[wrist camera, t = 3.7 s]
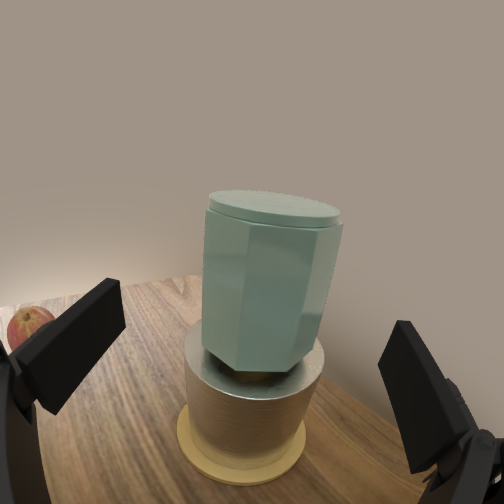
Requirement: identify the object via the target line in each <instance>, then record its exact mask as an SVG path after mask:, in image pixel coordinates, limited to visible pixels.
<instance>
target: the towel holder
mask: <svg viewBox="0 0 504 504" xmlns="http://www.w3.org/2000/svg"><path fill="white" fill-rule="evenodd" d="M201 332H202V319H201V320H199V321H198V322H197V323H196V324H194V325H193V326H192V327H191V329H190V330H189V331H188V333H187V335H186V337H185V340H184V346H183V349H184V366H185V380H186V392H187V403H186V405H185V406H184V407H183V409H182V410H181V412H180V415H179V417H178V421H177V429H176V431H177V438H178V443H179V446H180V449H181V451H182V453H183V455H184V456H185V458H186V459H187V461H188V462H189V463H190V464H191V465H192V466H193V467H194V468H195V469H196V470H198V471H199V472H200V473H202V474H203V475H205V476H207V477H208V478H211V479H213V480H215V481H218V482H221V483H224V484H229V485H236V486H252V485H258V484H263V483H266V482H270V481H272V480H274V479H276V478H279V477H280V476H282V475H283V474H285V473H286V472H287V471H289V470H290V469H291V468H292V467H293V466H294V464H295V463H296V462H297V460H298V459H299V457H300V455H301V454H302V452H303V449H304V446H305V442H306V429H305V425H304V422H303V416H304V414H305V412H306V410H307V407H308V405H309V402H310V400H311V398H312V395H313V393H314V390H315V388H316V385H317V382H318V380H319V377H320V375H321V372H322V369H323V366H324V351H323V348H322V346H321V344H320V342H319V340H318V339H317V337H316V340H315V343H314V346H313V349H312V350H311V351H310V352H309V353H308V354H307V355H306V356H304V357H303V358H302V359H301V360H300V361H299V362H298V363H296V364H295V365H294V366H293V367H292V368H291V369H289V370H288V371H286V372H262V371H236V370H234V369H232V368H231V367H230V366H228V365H227V364H226V363H224V362H223V361H222V360H220V359H219V358H218V357H216V356H215V355H214V354H212V353H211V352H210V351H209V350H207V349H206V348H205V347H203V346H202V344H201Z"/></svg>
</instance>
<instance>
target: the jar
mask: <svg viewBox="0 0 504 504" xmlns="http://www.w3.org/2000/svg"><path fill="white" fill-rule="evenodd" d="M339 217H340V212H339V210H338V209H336V208H334V207H333V206H330V205H328V204H325V203H322V202H319V201H316V200H312V199H308V198H303V197H299V196H293V195H288V194H281V193H273V192H265V191H252V190H227V191H218V192H214V193H212V194H210V196H209V206H208V208H207V210H206V218H205V235H204V236H205V237H204V257H203V281H202V332H201V344H202V346H203V347H205V348H206V349H207V350H209V351H210V352H211V353H212V354H214V355H215V356H216V357H218V358H219V359H220V360H222V361H223V362H224V363H226V364H227V365H228V366H230V367H231V368H232V369H234V370H236V371H262V372H286V371H288V370H289V369H291V368H292V367H293V366H294V365H295V364H296V363H298V362H299V361H300V360H301V359H302V358H303V357H304V356H306V355H307V354H308V353H309V352H310V351H311V350H312V349H313V346H314V343H315V340H316V336H317V333H318V329H319V325H320V322H321V318H322V315H323V311H324V307H325V304H326V300H327V296H328V292H329V288H330V284H331V279H332V275H333V271H334V267H335V262H336V258H337V253H338V248H339V244H340V239H341V234H342V229H343V223H342V222H340V221H339Z"/></svg>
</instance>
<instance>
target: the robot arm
mask: <svg viewBox="0 0 504 504" xmlns="http://www.w3.org/2000/svg"><path fill="white" fill-rule="evenodd" d="M125 328H126V324H125V318H124V312H123V305H122V297H121V289H120V281H119V280H115V279H111V278H106V279H105V280H103V281H102V282H101V283H100V284H98V285H97V286H96V287H95V288H93V289H92V290H91V291H89V292H88V293H87V294H86V295H84V296H83V297H82V298H81V299H79V300H78V301H77V302H76V303H75V304H73V305H72V306H71V307H70V308H69V309H67V310H66V311H65V312H64V313H63V314H61V315H60V316H59V317H58V318H57V319H56V320H52V321H49V322H47V323H45V324H43V325H42V326H41V327H40V328H39V329H37V330H36V332H34V333H33V334H32V335H31V336H30V338H29V337H28V338H27V339H26V340H25V341H24V342H23V343H22V344H21V345H19V346H18V347H17V348H16V349H15V350H14V351H13V352H12V353H11V354H10V355H7V353H6V351H5V348H4V346H3V344H2V342H1V340H0V504H51V500H50V497H49V493H48V489H47V485H46V480H45V476H44V471H43V466H42V460H41V454H40V447H39V439H38V429H37V417H36V407H35V404H34V401H35V400H36V399H38V401H39V403H40V404H41V406H42V407H43V408H44V409H46V410H47V411H49V412H50V413H52V414H53V415H55V416H56V415H57V413H58V412H59V411H60V409H61V408H62V407H63V405H64V404H65V403H66V401H67V400H68V399H69V397H70V396H71V395H72V393H73V392H74V391H75V389H76V388H77V387H78V386H79V384H80V383H81V382H82V380H83V379H84V378H85V377H86V375H87V374H88V373H89V372H90V370H91V369H92V368H93V367H94V365H95V364H96V363H97V362H98V360H99V359H100V358H101V357H102V355H103V354H104V353H105V352H106V350H107V349H108V348H109V347H110V346H111V344H112V343H113V342H114V341H115V340H116V338H117V337H118V336H119V335H120V334H121V332H122V331H123V330H124V329H125ZM378 367H379V370H380V372H381V375H382V378H383V381H384V384H385V387H386V390H387V393H388V396H389V399H390V401H391V405H392V408H393V411H394V414H395V417H396V421H397V424H398V427H399V431H400V434H401V437H402V441H403V445H404V448H405V452H406V456H407V460H408V463H409V467H410V472H411V474H415V473H419V472H423V471H427V470H428V469H429V468H430V467H432V466H433V465H434V464H435V463H436V464H437V467H438V468H437V469H436V470H435V471H433V472H432V473H431V474H430V475H428V476H427V477H426V478H425V479H424V480H423V481H422V482H423V483H425V482H426V481H427V480H429V479H430V478H431V479H430V481H429V483H427V487H426V489H425V491H424V493H423V495H422V497H421V498H420V500H419V502H418V504H504V438H502V439H500V438H497V439H496V438H495V437H494V436H493V434H492V433H491V432H489V431H488V430H484V429H481V430H479V429H478V427H477V425H476V423H475V420H474V418H473V416H472V414H471V412H470V410H469V409H468V407H467V405H466V404H465V401H464V399H463V397H461V393H460V392H459V390H458V388H457V386H456V385H455V384H454V383H453V382H452V381H451V380H450V379H449V378H447V379H445V378H444V376H443V374H442V372H441V371H440V369H439V367H438V365H437V364H436V362H435V360H434V359H433V357H432V355H431V354H430V352H429V350H428V348H427V347H426V345H425V344H424V342H423V341H422V339H421V337H420V336H419V334H418V332H417V331H416V329H415V328H414V326H413V325H412V323H411V322H410V321H402V320H397V322H396V324H395V326H394V329H393V331H392V334H391V336H390V339H389V341H388V343H387V345H386V347H385V350H384V352H383V354H382V356H381V358H380V360H379V362H378ZM500 474H501V480H500V481H498V482H497V483H495V478H496V477H497V476H499V475H500Z"/></svg>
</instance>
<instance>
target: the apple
mask: <svg viewBox="0 0 504 504" xmlns="http://www.w3.org/2000/svg"><path fill="white" fill-rule="evenodd" d="M52 320H56V319H55V317H54V316H53V315H52V314H51V313H50V312H49V311H48V310H46V309H44V308H42V307H38V306H32V307H26V308H23V309H21V310H19V311H18V312H17V313H16V314H15V315H14V316H13V318H12V319H11V320H10V322H9V324H8V328H7V338H8V343H9V346H10V348H11V350H12V352H13V351H14V350H15V349H16V348H17V347H18V346H19V345H21V344H22V343H23V342H24V341H25V340H26V339H27V338H28V337H29V338H30V336H31V335H32V334H33V333H34V332H36V330H37V329H39V328H40V327H41V326H42V325H43V324H45V323H47V322H49V321H52Z"/></svg>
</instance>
